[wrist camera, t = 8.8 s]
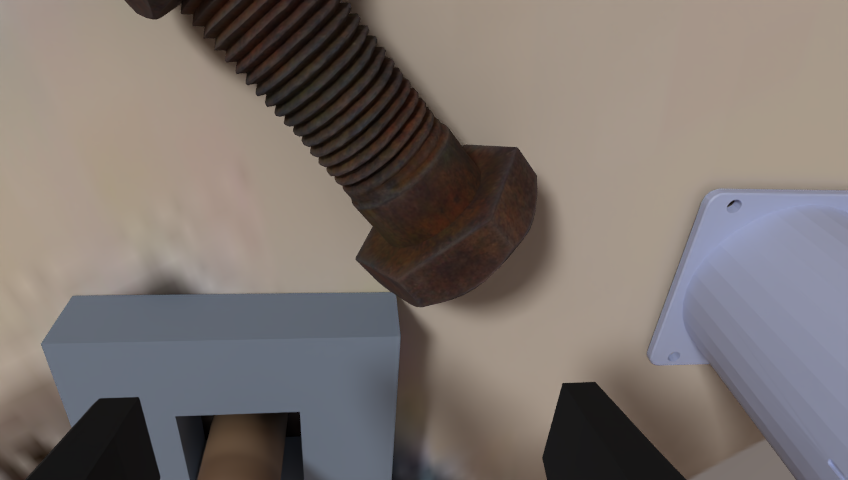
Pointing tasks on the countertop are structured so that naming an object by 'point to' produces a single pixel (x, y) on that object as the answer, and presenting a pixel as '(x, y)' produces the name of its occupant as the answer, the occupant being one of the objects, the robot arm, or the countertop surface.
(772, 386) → the robot arm
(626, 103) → the countertop surface
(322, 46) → the bolt
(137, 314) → the hole block
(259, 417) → the long walnut pin
